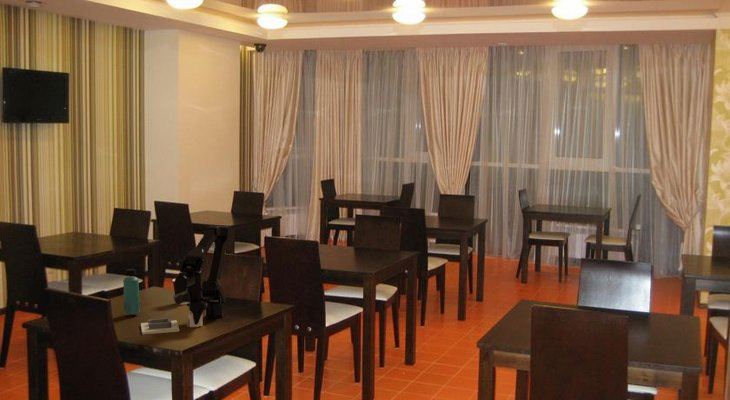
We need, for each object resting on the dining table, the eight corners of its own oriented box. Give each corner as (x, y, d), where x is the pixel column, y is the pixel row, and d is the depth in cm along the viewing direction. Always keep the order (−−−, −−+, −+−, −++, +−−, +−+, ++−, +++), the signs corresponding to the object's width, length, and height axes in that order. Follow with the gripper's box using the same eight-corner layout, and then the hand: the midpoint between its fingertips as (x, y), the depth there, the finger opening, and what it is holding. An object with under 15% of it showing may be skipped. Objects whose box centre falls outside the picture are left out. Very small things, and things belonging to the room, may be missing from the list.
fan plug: (201, 323, 306) (201, 311, 306) (202, 326, 302) (202, 314, 302) (186, 325, 304) (186, 312, 304) (187, 327, 300) (187, 315, 300)
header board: (176, 322, 308) (176, 315, 308) (179, 331, 295) (179, 324, 294) (140, 325, 303) (140, 318, 303) (142, 334, 290) (142, 327, 290)
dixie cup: (170, 302, 343) (170, 278, 342) (188, 300, 347) (187, 277, 346) (175, 306, 336) (174, 282, 335) (192, 304, 340) (192, 280, 339)
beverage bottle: (143, 315, 320) (141, 269, 318) (128, 318, 315) (127, 271, 313) (135, 312, 324) (133, 267, 322) (121, 315, 319) (119, 269, 317)
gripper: (172, 281, 308) (173, 319, 310) (176, 291, 290) (177, 330, 292) (200, 280, 312) (200, 316, 313) (205, 289, 294) (206, 328, 295)
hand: (195, 323), depth 303 cm, fingers closed on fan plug, 4 cm apart
